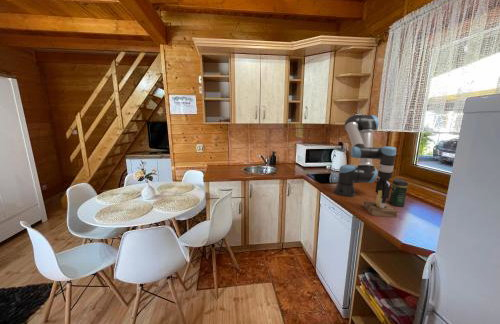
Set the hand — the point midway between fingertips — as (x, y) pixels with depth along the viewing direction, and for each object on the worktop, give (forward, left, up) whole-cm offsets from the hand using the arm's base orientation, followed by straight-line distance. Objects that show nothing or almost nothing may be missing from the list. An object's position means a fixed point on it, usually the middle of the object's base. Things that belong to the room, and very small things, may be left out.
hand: (379, 205), depth 135 cm
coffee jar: (-16, +19, -4) cm, 25 cm away
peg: (0, 0, -4) cm, 4 cm away
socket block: (0, 0, -4) cm, 4 cm away
